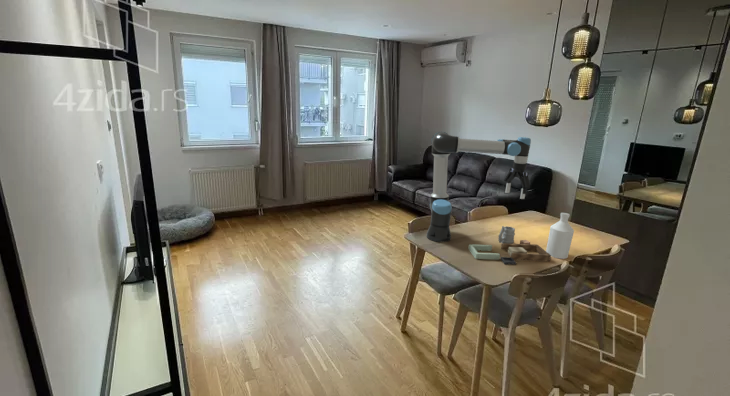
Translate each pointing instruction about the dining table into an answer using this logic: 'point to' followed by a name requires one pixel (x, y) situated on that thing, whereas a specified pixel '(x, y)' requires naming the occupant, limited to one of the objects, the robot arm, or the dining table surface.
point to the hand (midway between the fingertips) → (514, 195)
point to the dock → (477, 255)
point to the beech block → (516, 250)
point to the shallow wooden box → (540, 256)
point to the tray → (507, 260)
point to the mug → (507, 235)
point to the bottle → (560, 238)
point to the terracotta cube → (524, 242)
